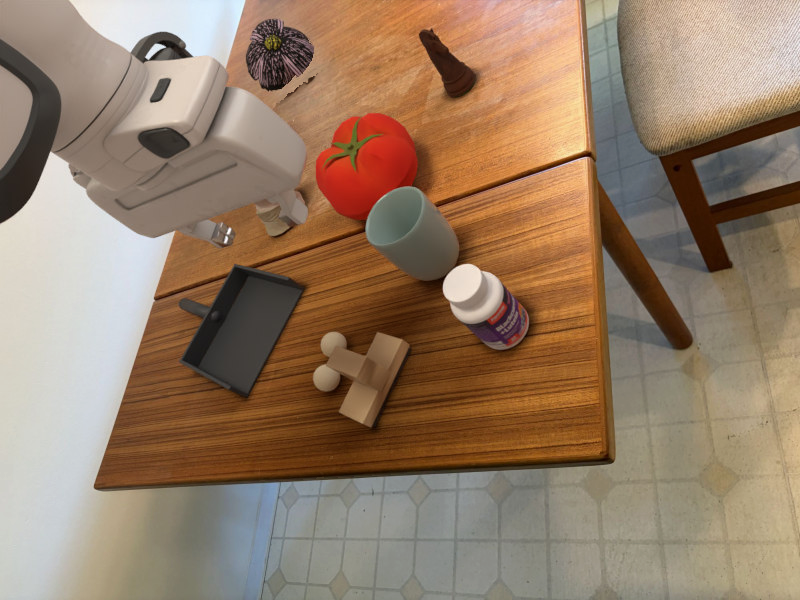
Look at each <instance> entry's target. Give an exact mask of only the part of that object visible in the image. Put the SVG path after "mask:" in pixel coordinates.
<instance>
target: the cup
mask: <svg viewBox="0 0 800 600" xmlns="http://www.w3.org/2000/svg"><path fill="white" fill-rule="evenodd" d="M364 230H365V237H366V240H367V242H368V243H369V244H370V245H371V247H372V248H373V249H375V250H376V251H377V253H379V254H380V255H381V256H382V257H384V258H385V259H386V260H387V261H388V262H390V263H391V265H393V266H394V267H396V268H397V269H398V270H400V271H401V272H403V273H404V274H405V275H407V276H409V277H410V278H413V279H416V280H418V281H426V282H430V281H436V280H439V279H442V278H444V277H445V276H447V275H448V274H449V273H450V272H451V271H452V270H453V269H454V268H455V267H456V265H457V262H458V260H459V256H460V243H459V239H458V236H457V233H456V231H455V229H454V228H453V226H452V225H451V223H450V222H449V221H448V219H447V218H446V217H445V215H444V214H443V213H442V212H441V211H440V209H439V208H438V206H436V205H435V204H434V202H433V201H432V200H431V199H430V198H429V197H428V196H427V194H426V193H425V192H423V191H422V190H421V189H420V188H418V187H416V186H408V187H401V188H397V189H395V190H392V191H390V192H389V193H387V194H385V195H384V196H383V197H381V198H380V199H379V200H378V201H377V203H376V204H375V205H374V206H373V208H372V210H371V211H370V213H369V216H368V219H366V223H365V229H364Z"/></svg>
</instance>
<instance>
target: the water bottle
mask: <svg viewBox="0 0 800 600" xmlns="http://www.w3.org/2000/svg"><path fill="white" fill-rule="evenodd" d="M155 45H161V46H162V48H160V49H159V50H157V51H156V52H155V53H153V55H151V56H150V57H149V58H146V57H147V56H148V53H149V52H150V51H151V50H152V48H153V47H155ZM163 46H164V47H163ZM186 48H187V44H186V42H185V41H184V40H183V39H181V38H180V36H179V35H176V34H174V33H172V32H168V31H157V32H153V33H151V34H148V35H146V36H144V37H142V38H140V39H139V40H138V41H137V42H136V44H135V45H134V46H133V48H132V49H131V51H129V52H130V53H131V54H132V55H134V56H135V57H136V58H137V59H138V60H139V61H141V62H142V63H143V64H144V63H145V62H147V61H166V60H177V59H184V58H191V57H194V56H193V54H192V53H190V52H189V51H188V50H187V49H186ZM195 57H197V56H196V55H195Z"/></svg>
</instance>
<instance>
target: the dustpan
mask: <svg viewBox="0 0 800 600" xmlns="http://www.w3.org/2000/svg"><path fill="white" fill-rule="evenodd" d="M305 289H306V287H304V286H303V285H301V284H300V283H298V282H297V281H295V280H294V279H293V278H292V277H290V276H285V275H282V274H279V273H274V272H270V271H266V270H261V269H257V268H254V267H250V266H246V265H242V264H238V263H234V264H233V265H232V268H231V270H230V271H229V273H228V274H227V276H226V277H225V280H224V282H223V284H222V285H221V287H220V288H219V290H218V291H217V293H216V295H215V297H214V298H213V301H212V303H211V305H210V306H208V305H206V304H203V303H201V302H198V301H195V300H192V299H191V298H187V297H183V298H181V299H180V300H179V301H178V307H179V309H180V310H182V311H184V312H187V313H189V314H191V315H194V316H197V317H199V318H202V320H201V321H200V324H199V325H198V327H197V329H196V331H195V333H194V334H193V336H192V337H191V340H190V341H189V343H188V345H187V346H186V348H185V350H184V352H183V354H182V355H181V357H180V358H179V361H178V363H179V364H181V365H183V366H185V367H186V368H189V369H190V370H192V371H193V372H196V373H197V374H199V375H201V376H202V377H205V378H207V379H208V380H210V381H212V382H214V383H216V384H217V385H220V386H221V387H223V388H225V389H227V390H228V391H231V392H233V393H235V394H237V395H240V396H242V397H245V398H246V399H247V398H249V395H250V394H251V391H252V389H253V388H254V386H255V385H256V382H257V380H258V378H259V377H260V375H261V373H262V370H263V369H264V367H265V366H266V363H267V361H268V360H269V358H270V355H271V354H272V352H273V350H274V348H275V346H276V344H277V342H278V341H279V338H280V337H281V335H282V333H283V331H284V329H285V327H286V325H287V324H288V321H289V319H290V317H291V316H292V314H293V312H294V311H295V308H296V306H297V304H298V303H299V301H300V300H301V299H300V298H301V297H302V295H303V293H304V292H305Z"/></svg>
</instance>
